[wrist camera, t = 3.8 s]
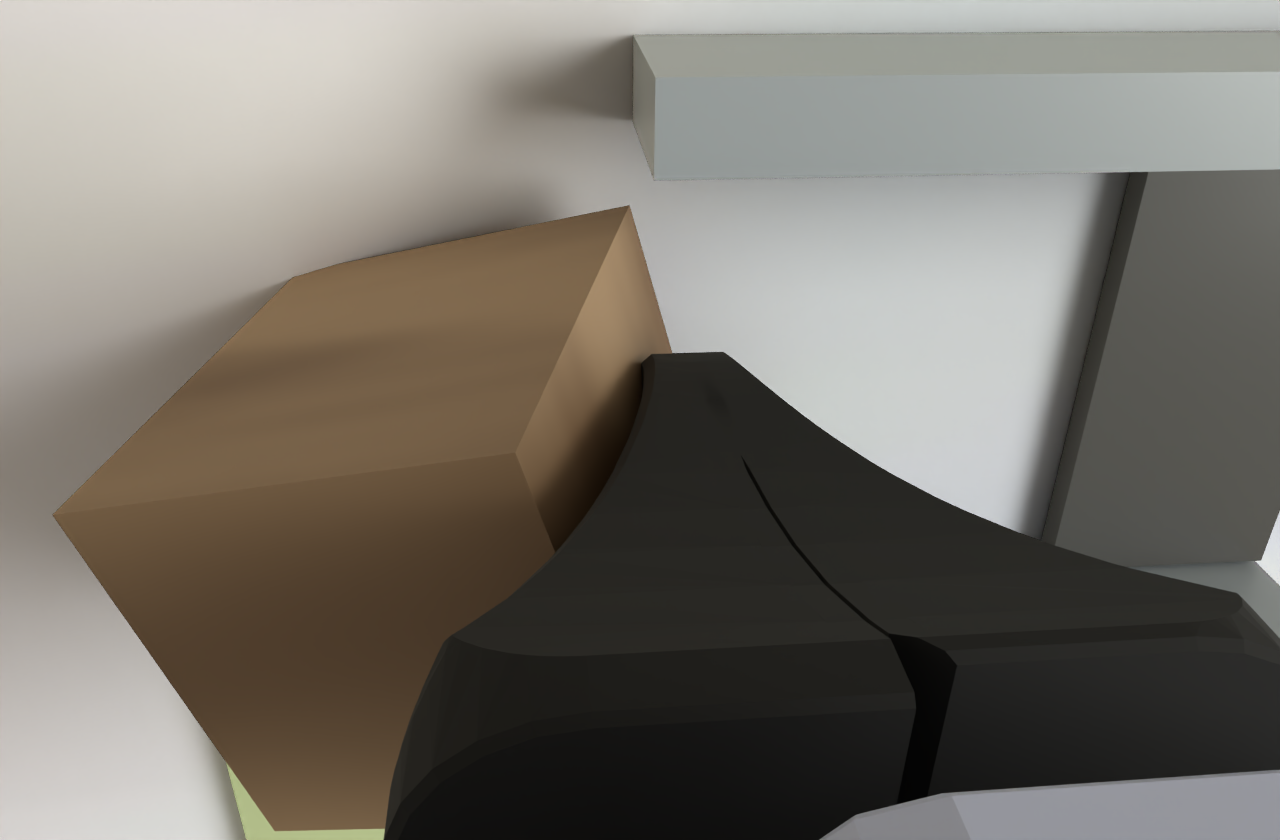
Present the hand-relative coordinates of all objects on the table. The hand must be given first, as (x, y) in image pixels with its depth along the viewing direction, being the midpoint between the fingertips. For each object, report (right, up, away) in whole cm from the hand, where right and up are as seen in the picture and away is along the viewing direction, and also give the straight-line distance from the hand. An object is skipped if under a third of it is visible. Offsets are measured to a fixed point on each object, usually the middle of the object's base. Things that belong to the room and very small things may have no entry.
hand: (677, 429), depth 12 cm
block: (-2, 0, +2) cm, 3 cm away
